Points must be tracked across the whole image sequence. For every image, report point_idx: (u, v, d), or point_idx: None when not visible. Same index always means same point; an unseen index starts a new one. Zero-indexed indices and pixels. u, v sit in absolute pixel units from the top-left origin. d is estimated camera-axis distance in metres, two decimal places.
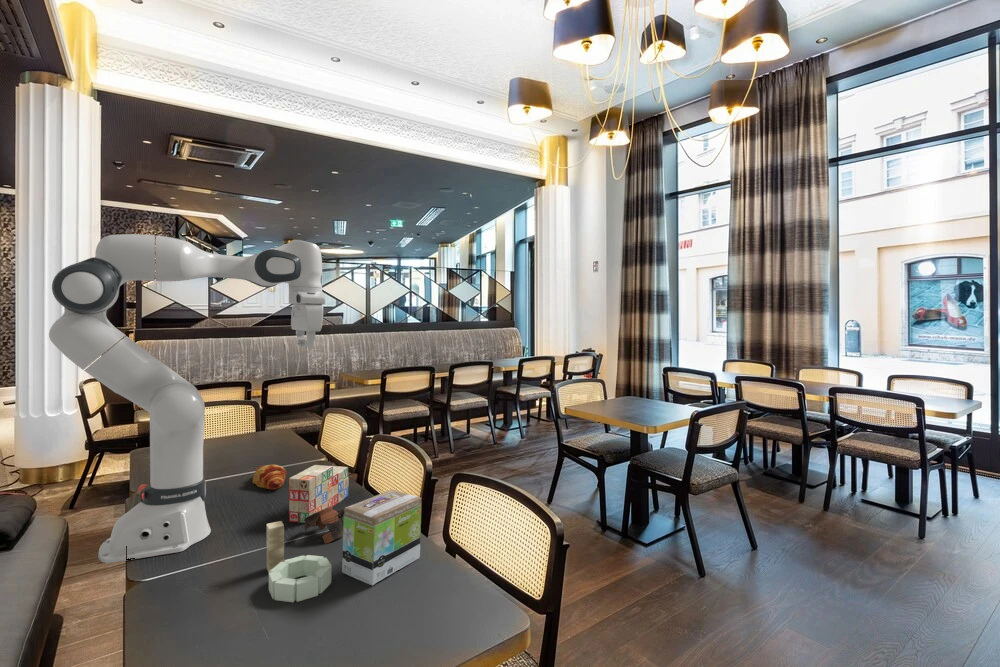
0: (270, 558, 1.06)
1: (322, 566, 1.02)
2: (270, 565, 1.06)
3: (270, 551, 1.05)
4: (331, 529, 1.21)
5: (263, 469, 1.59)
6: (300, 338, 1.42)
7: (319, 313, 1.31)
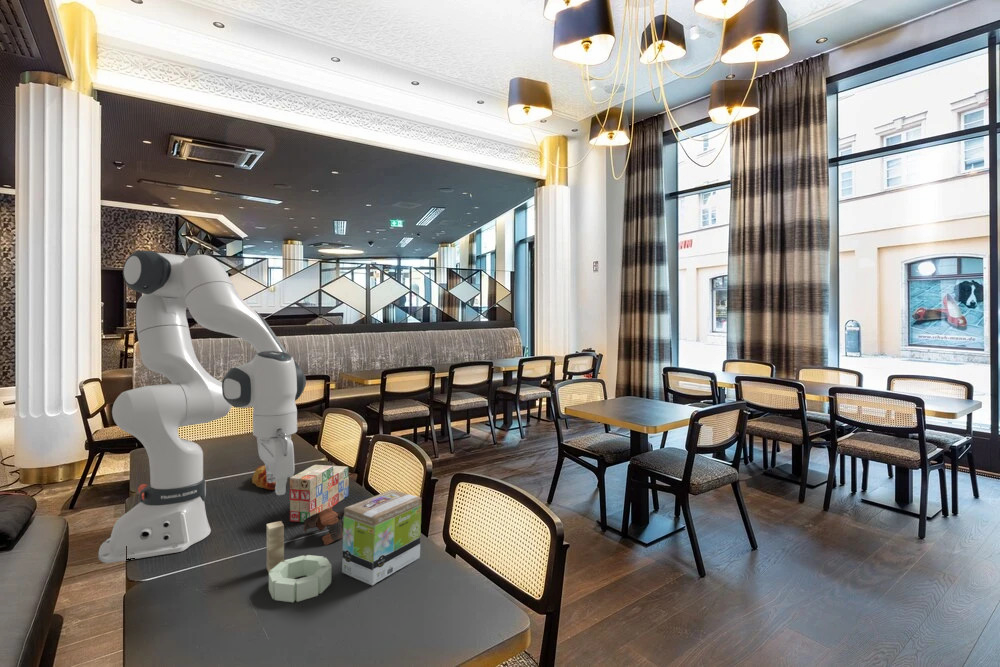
0: (270, 558, 1.06)
1: (322, 566, 1.02)
2: (270, 565, 1.06)
3: (270, 551, 1.05)
4: (331, 530, 1.21)
5: (262, 469, 1.59)
6: None
7: None
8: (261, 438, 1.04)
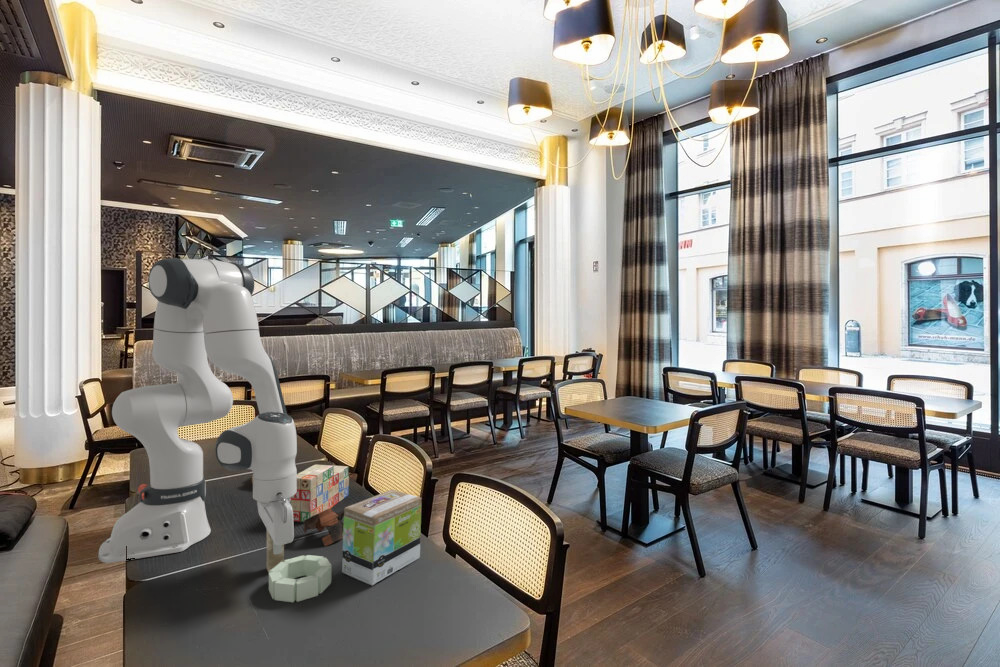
0: (270, 558, 1.06)
1: (322, 566, 1.02)
2: (270, 565, 1.06)
3: (270, 551, 1.05)
4: (331, 531, 1.20)
5: None
6: None
7: None
8: (261, 501, 1.05)
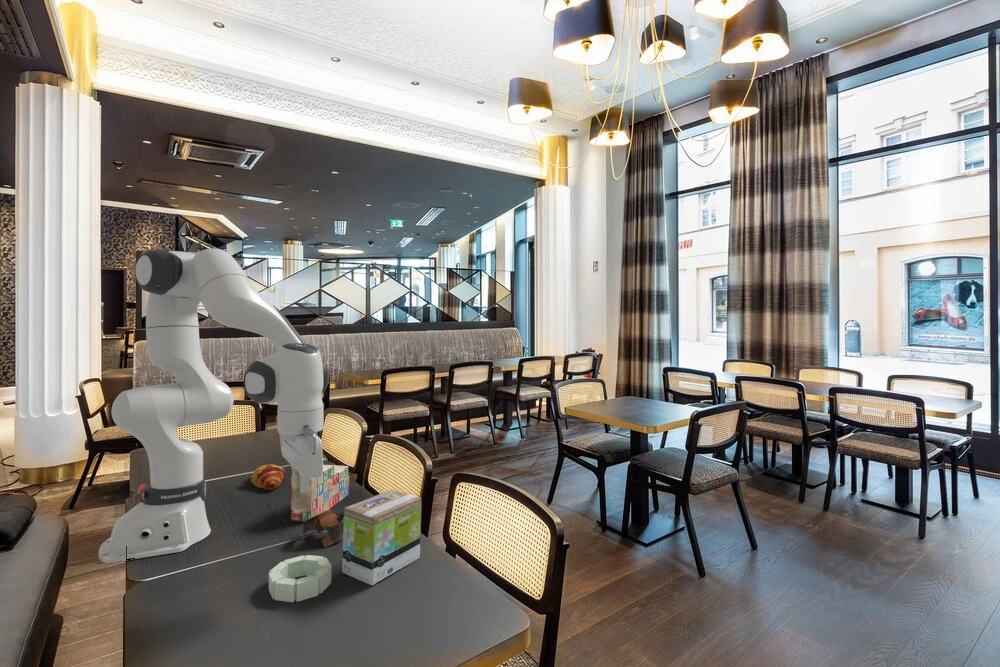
0: (296, 497, 0.99)
1: (322, 566, 1.02)
2: (296, 505, 0.99)
3: (296, 490, 0.99)
4: (331, 532, 1.19)
5: (261, 469, 1.59)
6: None
7: None
8: (286, 435, 0.98)
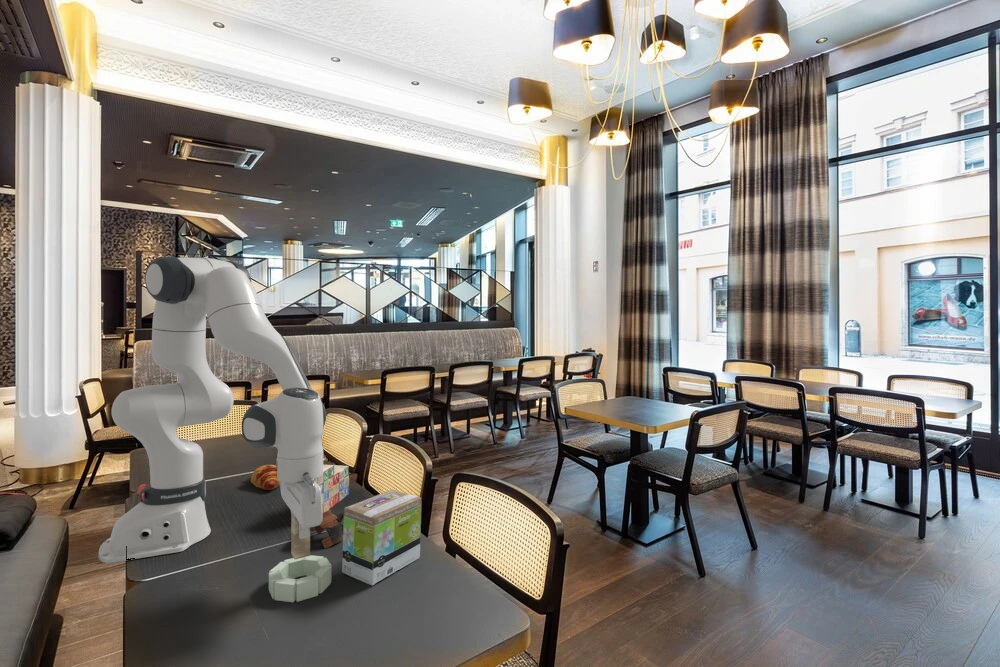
0: (296, 543, 0.99)
1: (322, 566, 1.02)
2: (296, 550, 0.99)
3: (296, 535, 0.99)
4: (331, 533, 1.19)
5: (260, 469, 1.59)
6: None
7: None
8: (286, 482, 0.98)
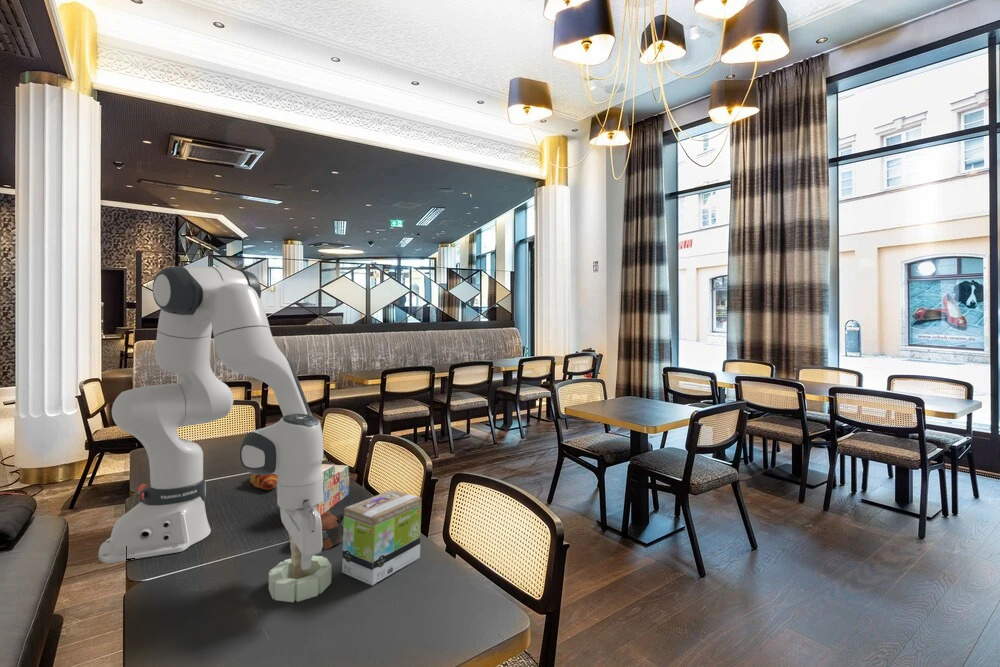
0: (296, 574, 0.99)
1: (322, 566, 1.02)
2: None
3: (296, 567, 0.99)
4: (330, 534, 1.18)
5: None
6: None
7: None
8: (286, 508, 0.98)
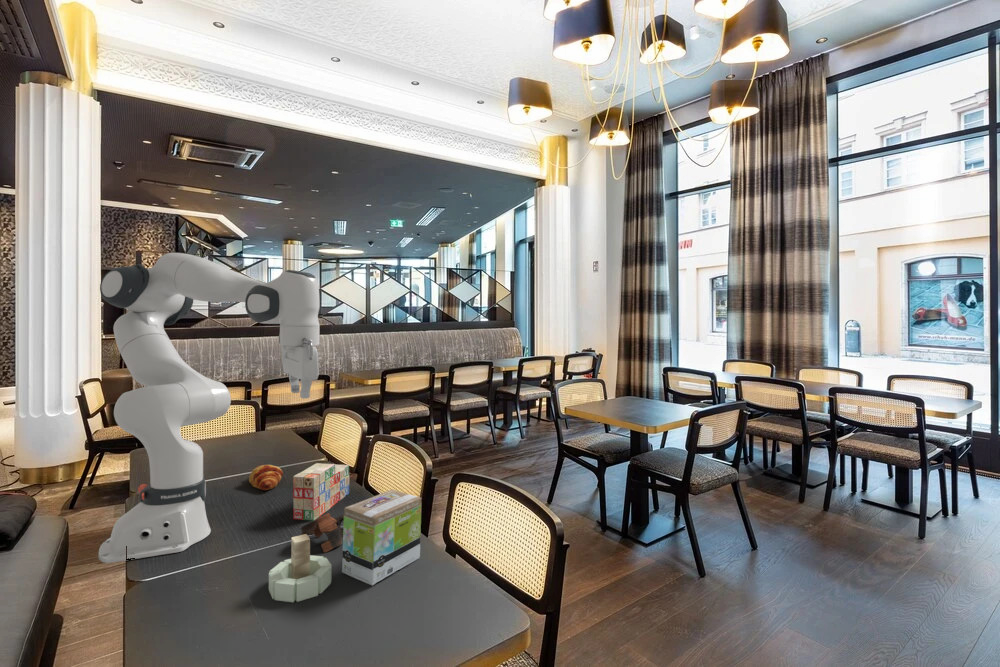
0: (296, 574, 0.99)
1: (322, 566, 1.02)
2: None
3: (296, 567, 0.99)
4: (330, 537, 1.17)
5: (258, 469, 1.59)
6: None
7: None
8: (287, 348, 1.14)
